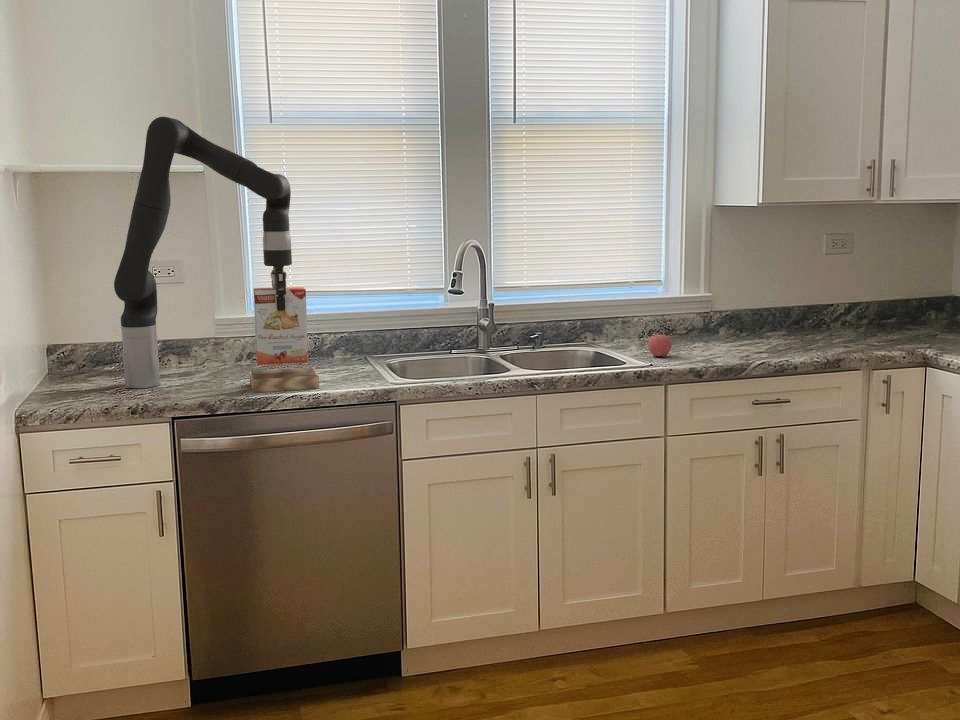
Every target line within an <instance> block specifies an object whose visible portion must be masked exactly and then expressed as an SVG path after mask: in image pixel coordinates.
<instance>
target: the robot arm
mask: <svg viewBox="0 0 960 720" xmlns="http://www.w3.org/2000/svg"><path fill="white" fill-rule="evenodd" d="M175 154H178V155H181V156H183V157H184V156H185V157H188V158H190V159H193V160H195V161H198V162H200V163H202V164H203V165H205V166H207V168H210V169H211V170H212V171H214V172H215V173H217V174H219V176H223V177H225V178H226V179H228V180H230V181H232V182H234V183H235V184H236V183H237V184H238V185H240V186H243V187H245V188H247V189H248V190H250V191H251V192H252V193H255V194H256V195H257V196H259V197H261V198H264V199H265V210H264V211H263V213H262V229H263V231H262V232H263V233H262V234H263V236H262V249H263V250H262V252H263V264H264V266H266V267H273V269H271V272H270V279H271V288H274V289H275V290H276V294H275V295H276V299H277V310H278V311H284V310H285V295H286V288H287V272H286V271H284V267H286V266H287V267H288V266H291V265H292V264H293V260H292V259H293V258H292V240H291V233H290V231H291V230H290V219H289V218H290V216H289V213H290V207H291V206H290V205H291V191H292V190H291V184H290V181H289V179H288V178H287V177H286V176H285V175H282V174H280V173H273V172H270V171H269V170H266V169H264V168H262V167H259V166H258V165H257V163H255V162H253V161H252V160H249V159H248V158H247V157H246V158H245V157H244V156H242V155H240V154H238V153H236V152H233V151H232V150H229V149H227V148H225V147H222V146H220V145H218V144H215V143H214V142H211V141H210V140H207V139H206V138H204V137H203V136H202V135H200V134H198V133H197V132H196V131H194V130H193V129H191V128H190V127H189V126H188V125H186V124H185V123H183V121H180V120H178V119H176V118H173V117H168V116H159V117H156V118H154V119H153V120H152V121H151V122H150V124H149V125H148V127H147V131H146V137H145V147H144V154H143V155H144V156H143V162H142V168H141V173H140V177H139V180H138V185H137V190H136V192H135V197H134V202H133V206H132V210H131V216H130V221H129V225H128V230H127V234H126V242H125V246H124V251H123V253H122V254H123V255H122V257H121V259H120V263H119V266H118V268H117V271H116V275H115V277H114V282H113V288H114V292H115V294H116V296H117V298H118V299H120V300H121V301H122V302H124V304H123V305H124V307H123V311H122V314H121V316H120V326H121V327H120V328H121V340H122V343H121V344H122V350H123V351H122V353H123V354H122V365H123V375H124V388H125V389H146V388H154V387H157V386H160V385H161V373H160V361H159V359H160V358H159V346H158V332H157V316H158V290H157V283H156V279H155V276H154V274H153V273H152V272H151V270H149V268H150V262H151V258H152V255H153V254H154V251H155V248H156V247H157V245H158V243H159V242H160V240H161V237H162V236H163V233H164V231H165V228H166V225H167V222H168V218H169V213H170V207H171V197H172V195H171V185H170V184H171V183H170V171H171V166H172V162H173V160H174V159H173V158H174V156H175ZM278 289H283V291H278Z"/></svg>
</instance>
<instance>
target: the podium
mask: <svg viewBox="0 0 960 720" xmlns="http://www.w3.org/2000/svg"><path fill="white" fill-rule="evenodd" d="M249 385H250V388H251V391H252V393H253V394H254V393H256V394H257V393H267V392H270V393H271V392H282V391H283V392H284V391H295V390H296V391H297V390H298V391H299V390H311V389H313V390H314V389H320V375H319V374H318V372H317V371H316V369H315V368H314V367H313V366H307V367H306V366H305V367H291V368H278V369H275V368H274V369H263V370H251V371H249Z"/></svg>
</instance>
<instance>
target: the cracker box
mask: <svg viewBox="0 0 960 720" xmlns="http://www.w3.org/2000/svg"><path fill="white" fill-rule="evenodd" d="M306 290H307V289H306V288H304V286H296V287H295V286H294V287H289V286H288V287H286V295H285V310H284V311H278V310H277V299H276V295H275V294H276V290H275V289H274V288H273V287H260V288H259V287H258V288H257V287H256V288H253V307H254V311H253V312H254V331H255V332H254V333H255V355H256V357H255V359H256V364H257V365H259V366H260V365H277V364H278V365H279V364H282V365H283V364H296V363H299V364H303V363H309V350H308V349H309V348H308V323H307V322H308V320H307V319H308V318H307V317H308V316H307V315H308V314H307V312H308V311H307V291H306ZM278 291H283V289H278Z"/></svg>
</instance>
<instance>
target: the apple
mask: <svg viewBox="0 0 960 720" xmlns="http://www.w3.org/2000/svg"><path fill="white" fill-rule="evenodd" d="M672 343H673V342H672V339H671V338H670V336H668V335H666V334H661V333H660V332H658V334H654V335H652V336H650V338H649V340H648V343H647V344H648V345H647V346H648V349H649V352H650V354H652V356H654V355H655V356H654V357H656V356H664V357H666V356H667V355H668V354H669V353H670V352H671V348H672ZM665 355H666V356H665Z"/></svg>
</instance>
